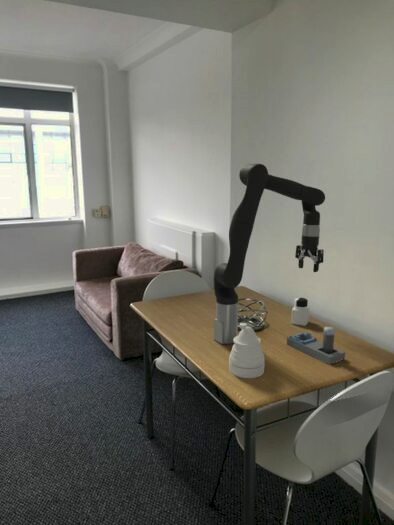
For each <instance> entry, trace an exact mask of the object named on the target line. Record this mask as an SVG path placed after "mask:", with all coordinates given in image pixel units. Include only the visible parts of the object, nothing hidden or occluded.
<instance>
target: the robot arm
mask: <svg viewBox="0 0 394 525" xmlns="http://www.w3.org/2000/svg"><path fill="white" fill-rule="evenodd" d="M268 170H269V169H267V166H266V165H264V164H262V163H248V164H246V165H244V166H243V167H241V169H240V171H239V174H238V176H239V180H240V182H241V184H243V185H244V186H246V187H245V191H244V192H245V193H244V195H243V198H242V200H241V201H240V203H239V205H238V206H237V208H236V209H235V211H234V213H233V215H232V217H231V220H230V224H229V230H228V241H229V257H228V261H227V262H222V263H220V264H218V265H217V266H216V268H215V269H214V274H213V284H214V285H213V287H214V288H213V289H214V291H213V292H214V295H215V306H216V307H215V318H214V319H213V340H214V341H216V342H217V343H218V344H221V345H224V344H225V345H226V344H227V345H230V344H234V341H233V339H234V338H235V337H236V336H238V322H239V319H238V318H239V295H238V293H237V292H236V290H235V288H237V287H239V285H240V284H241V282H242V279H243V274H244V268H245V262H246V256H247V252H248V247H249V243H250V240H251V237H252V233H253V229H254V225H255V221H256V217H257V213H258V210H259V206H260V202H261V199H262V196H263V194H264V191H265V190H267V191H271V192H273V193H276V194H279V195H282V196H285V197H287V198H290V199H293V200H296V201H301V206H302V212H303V222H302V229H301V242H300V244H299V245H296V248H295V259H297V260H298V268H299V269H303V268H304V261H305V260H304V259H305V258H306V257H308V258H310V259H311V260H312V261H313V269H312V270H313V273H317V272H319V268H320V264H323V263H324V251H325V250H324V249H319V244H320V234H321V233H320V231H321V229H320V228H321V226H320V224H321V214H320V211H318V210H317V209H316V207H317V206H320V205H322V204H323V203H325V201H326V194H325V193H324V191H323V190H321V189H320V188H317V187H313V186H309V185H304V184H302V183H300V182H298V181H295V180H291V179H288V178H284V177H280V176H277V175H271V174H269V171H268Z"/></svg>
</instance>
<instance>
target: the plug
mask: <svg viewBox="0 0 394 525" xmlns="http://www.w3.org/2000/svg"><path fill="white" fill-rule="evenodd" d="M335 329H336V328H334V327H333V326H325V327H323V336H322V337H323V338H322V342H323V348H322V352H324V353H326V354H328V355H329V354H332V353H333V347H335V346H334V345H335V344H334V343H335V331H336V330H335Z"/></svg>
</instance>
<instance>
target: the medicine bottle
mask: <svg viewBox="0 0 394 525" xmlns="http://www.w3.org/2000/svg"><path fill="white" fill-rule="evenodd" d="M308 302H309V300H308V299H307V298H305V297H295V298H294V305H293V307H292V309H291V314H290V315H291V317H290V325H296V326H303V327H306V326H307V324H308V323H309V320H310V307H308Z"/></svg>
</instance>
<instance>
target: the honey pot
mask: <svg viewBox="0 0 394 525" xmlns="http://www.w3.org/2000/svg"><path fill="white" fill-rule="evenodd" d="M239 328H240V329H241V330H240V331H239V333H238V334H237V336H236V337H235V338H234V339H233V341H234V343H233V345H232V348H231V351H230V354H229V360H228V361H229V362H228V370H229V372H230V374H232V375H234V376H235V377H239V378H244V379H255V378H258V377H260V376H263V374H264V372H265V360H266V359H265V355H264V351H263V348H262V346H261V343H262V340H261V338H260V337H258V336H257V333H256V332H255V330H254V329H253V328H252V327H250V326H247V323H245V322H240V323H239Z"/></svg>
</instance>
